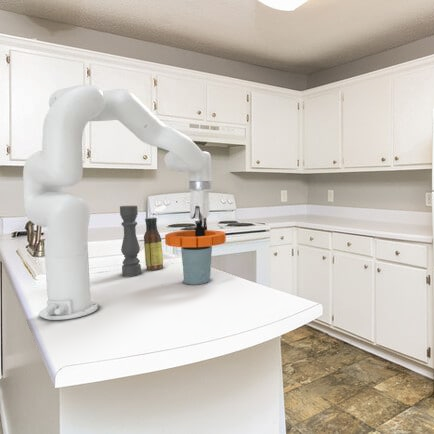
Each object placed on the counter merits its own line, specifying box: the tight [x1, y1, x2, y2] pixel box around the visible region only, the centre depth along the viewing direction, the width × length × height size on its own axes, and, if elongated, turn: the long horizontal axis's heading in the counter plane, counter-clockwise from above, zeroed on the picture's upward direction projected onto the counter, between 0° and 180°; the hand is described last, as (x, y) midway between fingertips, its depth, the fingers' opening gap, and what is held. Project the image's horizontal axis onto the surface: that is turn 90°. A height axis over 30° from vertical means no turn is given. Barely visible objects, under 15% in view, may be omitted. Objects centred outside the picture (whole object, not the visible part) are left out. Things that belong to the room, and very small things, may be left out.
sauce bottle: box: [143, 216, 164, 271], centre depth 156 cm, size 7×6×20 cm
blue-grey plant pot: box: [180, 246, 213, 285], centre depth 139 cm, size 10×10×12 cm
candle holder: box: [119, 205, 142, 278], centre depth 147 cm, size 6×6×25 cm
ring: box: [164, 229, 227, 248], centre depth 137 cm, size 19×19×3 cm
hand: (201, 237), depth 146 cm, fingers closed on ring, 2 cm apart
